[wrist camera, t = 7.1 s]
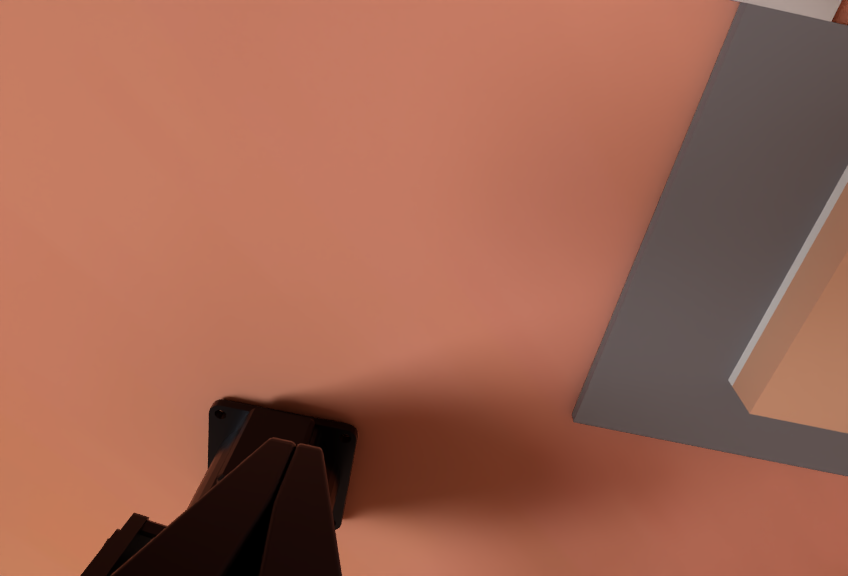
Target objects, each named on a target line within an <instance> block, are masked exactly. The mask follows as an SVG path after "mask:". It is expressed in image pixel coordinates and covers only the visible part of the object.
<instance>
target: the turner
mask: <svg viewBox="0 0 848 576" xmlns="http://www.w3.org/2000/svg"><path fill="white" fill-rule="evenodd" d="M731 1H736V2H740V3H749V4H753V5H758V6H762V7H767V8H771V9H776V10H780V11H785V12H789V13H794V14H798V15H803V16H807V17H812V18H816V19H821V20H825V21H830V22H831V21H832V19H833V17H834V15H835V13H836V11H837V9H838V7H839V5H840V3H841V1H842V0H731Z"/></svg>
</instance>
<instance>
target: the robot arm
mask: <svg viewBox="0 0 848 576" xmlns="http://www.w3.org/2000/svg"><path fill="white" fill-rule="evenodd" d="M219 410H222V411H224V412H225V413H223V412H220V411H219ZM343 434H346V435H349V436H350V437H345V436H343ZM357 437H358V431H357V429H356V428H355V427H354V426H352V425H350V424H346V423H341V422H335V421H330V420H325V419H320V418H315V417H310V416H305V415H300V414H295V413H289V412H284V411H279V410H274V409H269V408H264V407H259V406H254V405H248V404H243V403H238V402H233V401H228V400H217V401H215V402H214V403H213V405H212V406H211V408H210V411H209V438H208V470H207V472H206V474H205V476H204V478H203V480H202V482H201V484H200V485H199V487H198V489H197V491H196V493H195V495H194V497H193V499H192V501H191V502H190V504H189V506H188V508H187V510H186V511H185V512H183V513H182V514H181V515H180V516H179V517H178V518H176V519H175V520H174V521H173V522H172V523H171V524H170V525H168V526H165V525H162V524H159V523H156V522H153V521H150V520H149V517H146V516H143V515H140V514H137V513H133V515H132V516H131V517H130V518H129V520H128V521H127V522H126V524H125V525H124V526H123V527H122V529H121V530H120V529H117V530H116V531H115V532H114V534H113V535H112V536H111V537H110V538H109V539H107V541H106V543H105V544H104V546H103V547H102V549H101V550H100V551H99V553H98V554H97V555H96V556H95V558H94V559H93V560H92V562H91V563H90V564H89V565H88V567H87V568H86V569H85V571H84V572H83V573H82V574H81V576H342V573H341V566H340V559H339V553H338V546H337V540H336V533H335V530H336V529H338V528H339V527H340V526H341V522H342V518H343V513H344V507H345V502H346V496H347V491H348V486H349V480H350V475H351V469H352V464H353V458H354V453H355V447H356V442H357Z"/></svg>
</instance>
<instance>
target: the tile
mask: <svg viewBox="0 0 848 576" xmlns="http://www.w3.org/2000/svg"><path fill="white" fill-rule="evenodd" d="M728 381H729V382H730V384H731V385H732V387H733V388H734V390H735V392H736V393H737V395H738V396H739V398H740V399H741V401H742V402H743V404H744V406H745V407H746V409H747V410H748V412H749V413H750V414H753V415H758V416H763V417H768V418H773V419H778V420H783V421H788V422H793V423H798V424H803V425H808V426H813V427H818V428H823V429H828V430H833V431H838V432H843V433H848V166H847V167H846V169H845V171H844V173H843V175H842V176H841V178H840V180H839V182H838V184H837V185H836V187H835V189H834V191H833V193H832V194H831V196H830V198H829V200H828V202H827V203H826V205H825V207H824V209H823V211H822V212H821V214H820V216H819V218H818V220H817V221H816V223H815V225H814V227H813V228H812V230H811V232H810V234H809V236H808V237H807V239H806V241H805V243H804V245H803V246H802V248H801V250H800V252H799V254H798V255H797V257H796V259H795V261H794V263H793V264H792V266H791V268H790V270H789V272H788V273H787V275H786V277H785V279H784V281H783V282H782V284H781V286H780V288H779V289H778V291H777V293H776V295H775V297H774V298H773V300H772V302H771V304H770V306H769V307H768V309H767V311H766V313H765V315H764V316H763V318H762V320H761V322H760V324H759V325H758V327H757V329H756V331H755V333H754V334H753V336H752V338H751V340H750V342H749V343H748V345H747V347H746V349H745V351H744V352H743V354H742V356H741V358H740V359H739V361H738V363H737V365H736V367H735V368H734V370H733V372H732V374H731V376H730V377H729V379H728Z"/></svg>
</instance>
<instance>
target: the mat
mask: <svg viewBox="0 0 848 576" xmlns="http://www.w3.org/2000/svg"><path fill="white" fill-rule="evenodd" d="M847 166H848V25H843V24H839V23H834V22H830V21H825V20H821V19H816V18H812V17H807V16H803V15H798V14H794V13H789V12H785V11H780V10H776V9H771V8H767V7H762V6H758V5H753V4H749V3H740V5H739V7H738V10H737V12H736V14H735V17H734V19H733V22H732V24H731V27H730V29H729V31H728V34H727V36H726V39H725V41H724V44H723V46H722V49H721V51H720V53H719V56H718V58H717V61H716V63H715V66H714V68H713V71H712V73H711V75H710V78H709V80H708V83H707V85H706V88H705V90H704V93H703V95H702V97H701V100H700V102H699V105H698V107H697V110H696V112H695V114H694V117H693V119H692V122H691V124H690V127H689V129H688V132H687V134H686V136H685V139H684V141H683V144H682V146H681V149H680V151H679V154H678V156H677V158H676V161H675V163H674V166H673V168H672V171H671V173H670V176H669V178H668V180H667V183H666V185H665V188H664V190H663V193H662V195H661V197H660V200H659V202H658V205H657V207H656V210H655V212H654V215H653V217H652V219H651V222H650V224H649V227H648V229H647V232H646V234H645V237H644V239H643V241H642V244H641V246H640V249H639V251H638V254H637V256H636V259H635V261H634V263H633V266H632V268H631V271H630V273H629V276H628V278H627V280H626V283H625V285H624V288H623V290H622V293H621V295H620V298H619V300H618V302H617V305H616V307H615V310H614V312H613V315H612V317H611V320H610V322H609V324H608V327H607V329H606V332H605V334H604V337H603V339H602V342H601V344H600V346H599V349H598V351H597V354H596V356H595V359H594V361H593V363H592V366H591V368H590V371H589V373H588V376H587V378H586V381H585V383H584V385H583V388H582V390H581V393H580V395H579V398H578V400H577V403H576V405H575V407H574V410H573V412H572V417H573V422H576V423H581V424H586V425H591V426H596V427H601V428H606V429H611V430H616V431H621V432H626V433H631V434H636V435H641V436H646V437H651V438H656V439H662V440H667V441H672V442H677V443H682V444H687V445H692V446H697V447H702V448H707V449H712V450H717V451H722V452H727V453H732V454H737V455H742V456H747V457H752V458H758V459H763V460H768V461H773V462H778V463H783V464H788V465H793V466H798V467H803V468H808V469H813V470H818V471H823V472H828V473H833V474H838V475H843V476H848V433H843V432H838V431H833V430H828V429H823V428H818V427H813V426H808V425H803V424H798V423H793V422H788V421H783V420H778V419H773V418H768V417H763V416H758V415H753V414H750V413H749V412H748V410H747V409H746V407H745V406H744V404H743V402H742V401H741V399H740V398H739V396H738V395H737V393H736V392H735V390H734V388H733V387H732V385H731V384H730V382H729V381H728V379H729V377H730V376H731V374H732V372H733V370H734V368H735V367H736V365H737V363H738V361H739V359H740V358H741V356H742V354H743V352H744V351H745V349H746V347H747V345H748V343H749V342H750V340H751V338H752V336H753V334H754V333H755V331H756V329H757V327H758V325H759V324H760V322H761V320H762V318H763V316H764V315H765V313H766V311H767V309H768V307H769V306H770V304H771V302H772V300H773V298H774V297H775V295H776V293H777V291H778V289H779V288H780V286H781V284H782V282H783V281H784V279H785V277H786V275H787V273H788V272H789V270H790V268H791V266H792V264H793V263H794V261H795V259H796V257H797V255H798V254H799V252H800V250H801V248H802V246H803V245H804V243H805V241H806V239H807V237H808V236H809V234H810V232H811V230H812V228H813V227H814V225H815V223H816V221H817V220H818V218H819V216H820V214H821V212H822V211H823V209H824V207H825V205H826V203H827V202H828V200H829V198H830V196H831V194H832V193H833V191H834V189H835V187H836V185H837V184H838V182H839V180H840V178H841V176H842V175H843V173H844V171H845V169H846V167H847Z"/></svg>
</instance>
